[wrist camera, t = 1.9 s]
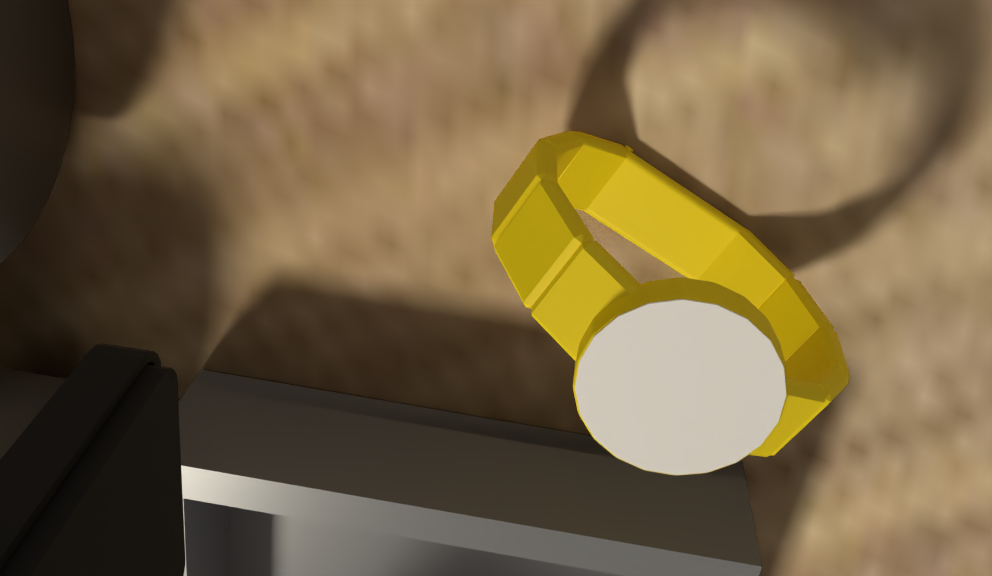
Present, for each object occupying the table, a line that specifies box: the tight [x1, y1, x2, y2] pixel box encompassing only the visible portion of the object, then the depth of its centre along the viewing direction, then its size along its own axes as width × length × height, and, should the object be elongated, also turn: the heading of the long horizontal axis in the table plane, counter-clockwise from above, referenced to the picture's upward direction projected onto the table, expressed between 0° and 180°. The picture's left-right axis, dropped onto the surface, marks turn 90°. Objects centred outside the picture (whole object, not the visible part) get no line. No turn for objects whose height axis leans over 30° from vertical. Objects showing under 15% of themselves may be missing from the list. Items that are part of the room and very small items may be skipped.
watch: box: [492, 131, 849, 475], centre depth 15 cm, size 6×3×6 cm, turn 57°
